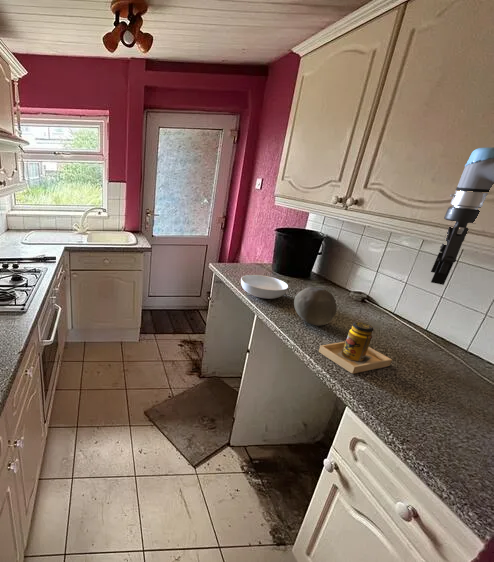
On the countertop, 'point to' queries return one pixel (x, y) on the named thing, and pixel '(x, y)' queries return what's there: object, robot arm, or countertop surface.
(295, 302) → the grey round rock
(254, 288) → the serving bowl
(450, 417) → the countertop surface
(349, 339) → the condiment
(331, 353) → the tray
